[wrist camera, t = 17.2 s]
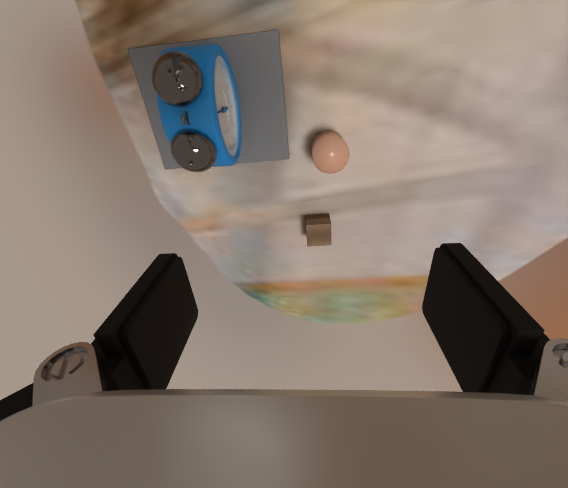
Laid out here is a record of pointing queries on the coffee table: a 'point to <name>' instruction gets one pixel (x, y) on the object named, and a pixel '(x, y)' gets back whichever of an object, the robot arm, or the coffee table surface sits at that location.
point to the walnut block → (318, 230)
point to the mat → (250, 88)
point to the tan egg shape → (329, 152)
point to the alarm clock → (198, 106)
